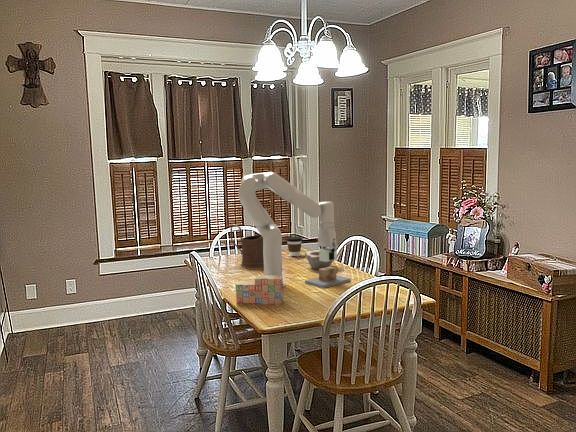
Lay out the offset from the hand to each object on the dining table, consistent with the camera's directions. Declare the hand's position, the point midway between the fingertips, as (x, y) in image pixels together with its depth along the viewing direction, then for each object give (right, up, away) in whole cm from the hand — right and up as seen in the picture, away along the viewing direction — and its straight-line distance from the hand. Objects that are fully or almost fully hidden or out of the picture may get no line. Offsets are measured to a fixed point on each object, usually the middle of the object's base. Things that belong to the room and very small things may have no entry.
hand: (328, 258), depth 277 cm
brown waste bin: (-44, -8, +48) cm, 66 cm away
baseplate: (0, -13, +2) cm, 13 cm away
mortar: (-2, -9, +35) cm, 36 cm away
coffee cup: (-17, -4, +72) cm, 74 cm away
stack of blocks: (-34, -18, -31) cm, 50 cm away
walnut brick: (0, -11, +1) cm, 11 cm away
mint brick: (0, -1, 0) cm, 1 cm away
